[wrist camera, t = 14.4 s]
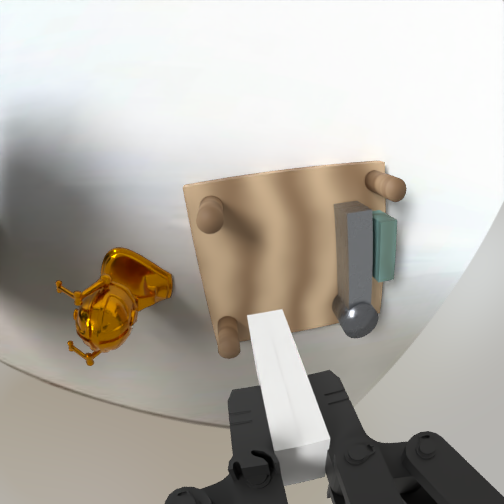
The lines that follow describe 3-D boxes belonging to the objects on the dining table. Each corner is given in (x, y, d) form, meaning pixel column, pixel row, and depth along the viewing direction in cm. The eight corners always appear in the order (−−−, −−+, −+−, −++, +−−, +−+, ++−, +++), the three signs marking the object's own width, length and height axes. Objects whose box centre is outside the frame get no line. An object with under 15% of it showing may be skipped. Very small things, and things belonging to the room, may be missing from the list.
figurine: (87, 244, 33) (40, 294, 22) (174, 252, 35) (155, 309, 24) (93, 305, 36) (58, 366, 25) (172, 315, 38) (159, 383, 27)
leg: (363, 313, 39) (376, 332, 34) (332, 321, 38) (343, 342, 34) (363, 199, 33) (381, 210, 29) (326, 205, 32) (341, 216, 28)
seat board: (217, 337, 40) (218, 371, 34) (184, 185, 32) (176, 198, 26) (375, 307, 41) (396, 334, 35) (378, 160, 33) (408, 169, 27)
